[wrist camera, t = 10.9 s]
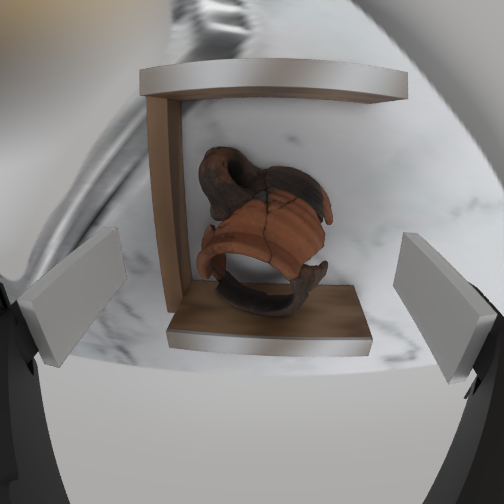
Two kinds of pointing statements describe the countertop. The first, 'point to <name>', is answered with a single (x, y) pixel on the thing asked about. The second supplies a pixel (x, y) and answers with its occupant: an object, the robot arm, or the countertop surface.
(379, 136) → the countertop surface
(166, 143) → the wooden stand
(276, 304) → the pottery mug
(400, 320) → the countertop surface
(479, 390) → the robot arm
